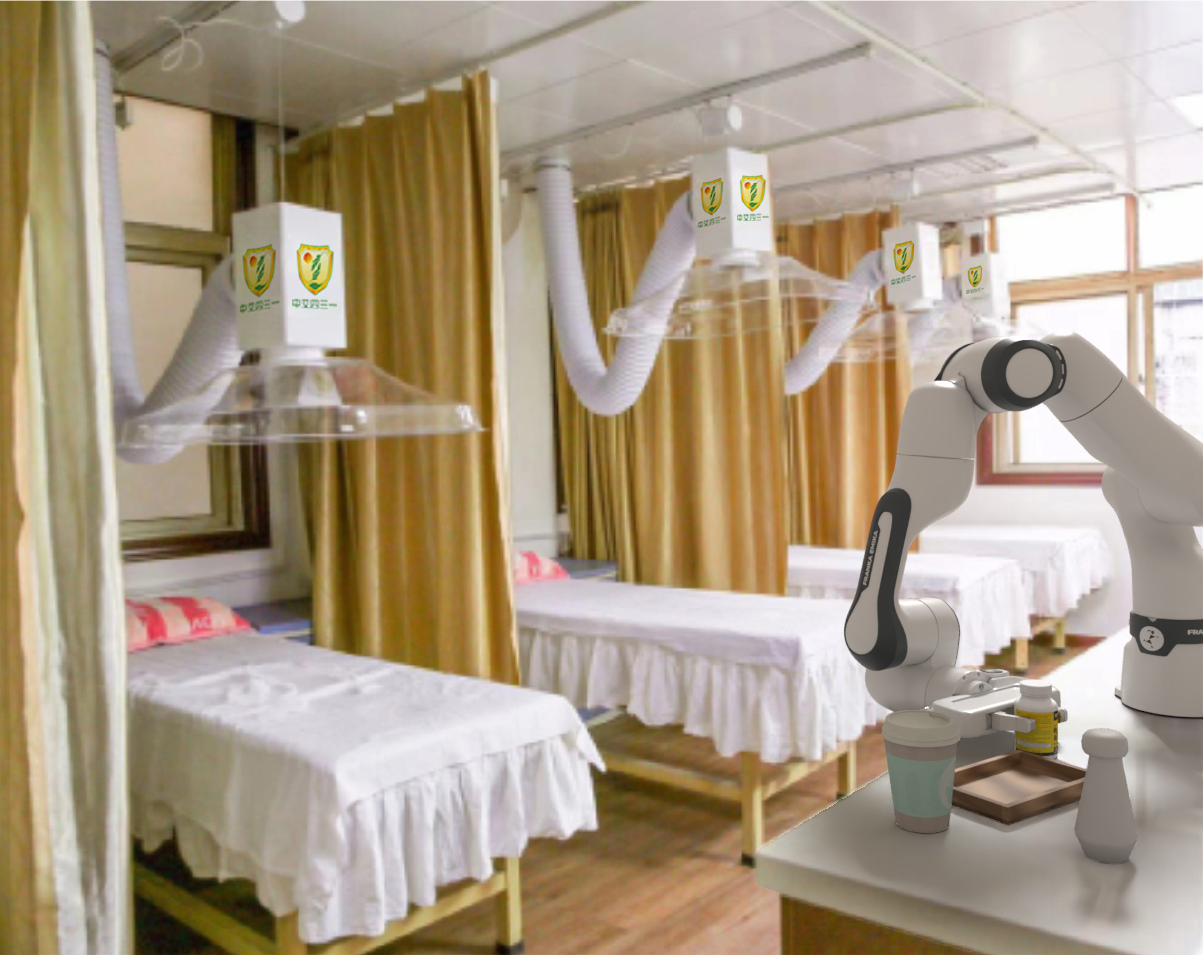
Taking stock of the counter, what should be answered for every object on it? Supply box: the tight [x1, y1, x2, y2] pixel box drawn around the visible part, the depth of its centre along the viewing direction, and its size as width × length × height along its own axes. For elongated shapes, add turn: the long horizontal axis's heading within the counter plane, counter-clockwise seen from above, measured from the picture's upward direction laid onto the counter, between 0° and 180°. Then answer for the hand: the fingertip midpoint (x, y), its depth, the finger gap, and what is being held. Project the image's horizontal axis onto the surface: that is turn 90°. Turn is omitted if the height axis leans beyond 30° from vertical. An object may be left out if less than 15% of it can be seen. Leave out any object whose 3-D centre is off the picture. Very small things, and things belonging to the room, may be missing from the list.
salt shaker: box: [1073, 727, 1138, 865], centre depth 108 cm, size 6×6×13 cm
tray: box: [951, 750, 1087, 826], centre depth 127 cm, size 18×12×2 cm, turn 122°
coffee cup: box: [880, 710, 961, 834], centre depth 118 cm, size 8×8×12 cm
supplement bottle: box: [1013, 679, 1059, 760], centre depth 140 cm, size 5×5×10 cm
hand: (1048, 721), depth 138 cm, fingers closed on supplement bottle, 5 cm apart
